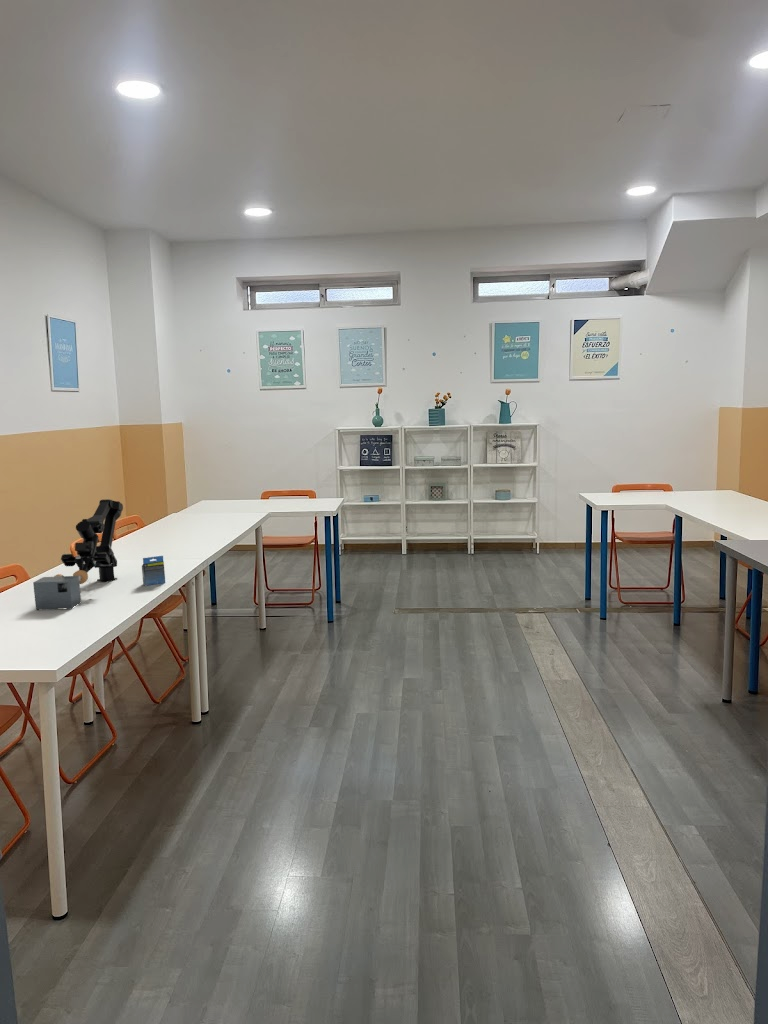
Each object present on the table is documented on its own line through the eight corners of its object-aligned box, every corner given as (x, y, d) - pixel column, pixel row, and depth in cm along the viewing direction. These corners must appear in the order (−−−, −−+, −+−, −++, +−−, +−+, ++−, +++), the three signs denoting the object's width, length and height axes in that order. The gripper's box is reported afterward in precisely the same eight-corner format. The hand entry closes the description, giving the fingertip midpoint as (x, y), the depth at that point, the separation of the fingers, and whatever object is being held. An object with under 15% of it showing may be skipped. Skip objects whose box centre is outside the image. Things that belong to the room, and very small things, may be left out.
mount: (50, 601, 303) (47, 574, 302) (85, 599, 303) (82, 573, 302) (36, 610, 290) (33, 582, 289) (72, 608, 291) (69, 581, 289)
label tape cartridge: (163, 581, 332) (161, 554, 330) (165, 583, 328) (163, 555, 327) (142, 584, 328) (140, 556, 326) (144, 585, 324) (142, 558, 322)
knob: (75, 583, 308) (73, 570, 307) (88, 582, 308) (87, 569, 307) (59, 592, 293) (57, 579, 292) (73, 592, 293) (72, 578, 292)
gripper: (60, 535, 311) (51, 566, 302) (105, 533, 311) (98, 565, 302) (69, 550, 320) (61, 581, 311) (113, 548, 320) (106, 579, 311)
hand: (81, 576), depth 308 cm, fingers closed, pressing on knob
